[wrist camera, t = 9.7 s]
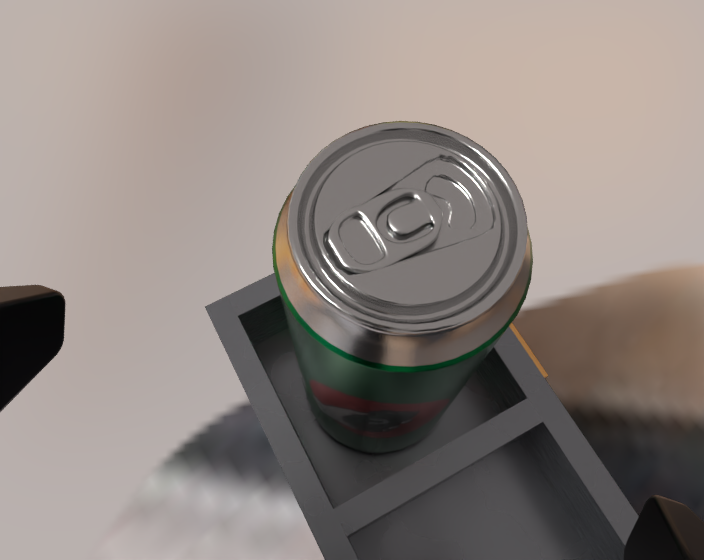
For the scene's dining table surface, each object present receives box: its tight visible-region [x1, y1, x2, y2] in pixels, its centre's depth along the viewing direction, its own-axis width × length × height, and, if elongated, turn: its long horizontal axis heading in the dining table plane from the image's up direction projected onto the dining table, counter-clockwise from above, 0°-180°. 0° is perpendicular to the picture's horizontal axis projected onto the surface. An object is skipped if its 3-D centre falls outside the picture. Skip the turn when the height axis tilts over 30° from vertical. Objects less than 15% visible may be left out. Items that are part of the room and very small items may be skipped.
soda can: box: [272, 121, 533, 453], centre depth 16 cm, size 5×5×12 cm
